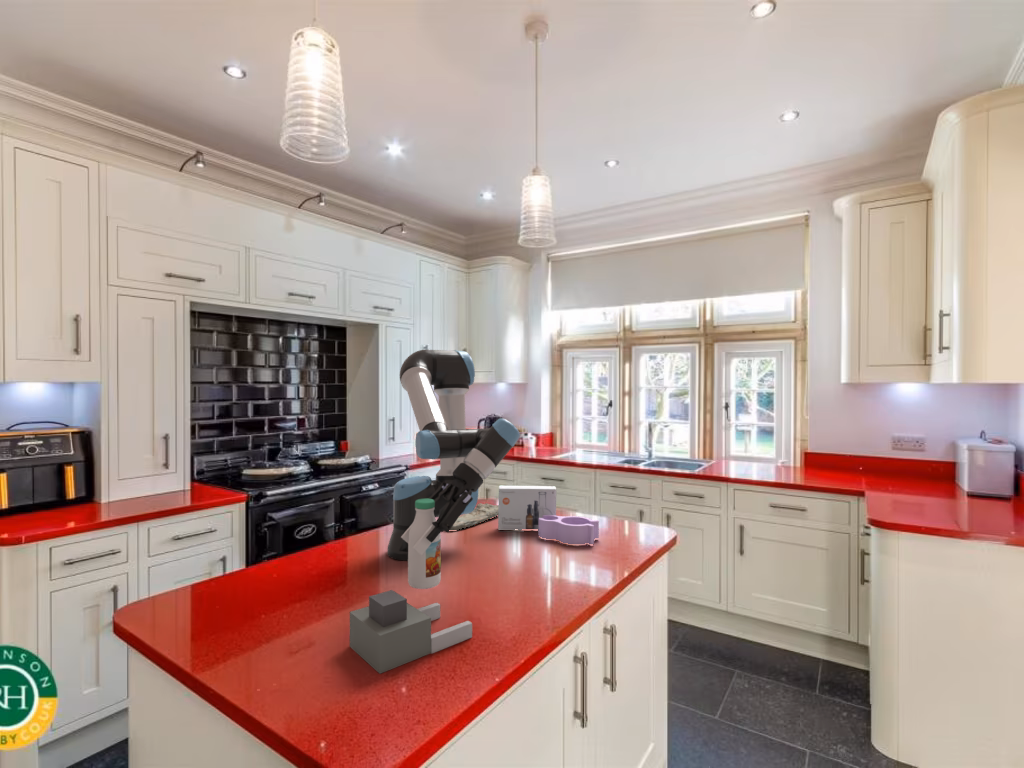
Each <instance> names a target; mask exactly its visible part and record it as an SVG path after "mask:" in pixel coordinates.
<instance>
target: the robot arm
mask: <svg viewBox="0 0 1024 768" xmlns="http://www.w3.org/2000/svg"><path fill="white" fill-rule="evenodd" d="M399 370H400V371H399V380H400V384H401V387H402V388H403V390H404V391H406V392H407V395H408V398H409V402H410V404H411V408H412V411H413V415H414V417H415V420H416V424H417V426H418V430H419V431H418V432H417V434H415V435H416V436H415V452H416V455H417V457H418V458H419V459H421V460H440V465H439V466H440V468H439V470H438V471H437V473H435V480H432V477H430V476H429V475H416V476H410V477H406V478H402V479H400V480H399V481H397V482H396V483H395V484H394V486H393V494H392V499H393V511H392V512H393V517H392V519H393V522H392V523H393V525H392V526H393V528H392V531H391V535H390V538H389V541H388V545H387V556H388V557H389V558H391V559H393V560H398V561H408V541H409V532H410V528H411V526H412V524H413V522H414V519H415V516H416V510H415V508H416V507H415V501H416V500H418V499H424V498H428V499H433V500H434V501H435V506H434V508H435V509H434V516H435V518H437V520H436V522H432V524H433V525H434V526H435V527H434V526H433V525H431V526H430V527H429V528H428V529H427V531H426V532H425V533H424V534H423V535H422V537H421V538H420V539H419V540H418V541H417V543H416V544H415V545H414V546H413V548H414V549H415V550H416V551H418V552H419V553H420V554H421V555H422V554H423V553H424V552H425V551H426V549H427V548H428V547H429V546H430V544H431V543H432V542H433V541H434V540H435V538H436V537H437V536H438V535H439V534H440V535H441V533H443V532H445V533H449V530H450V529H451V527H452V526H453V525H454V523H455V522H456V520H457V519H458V518H459V517H460V516H462V515H465V514H469V513H471V512H472V511H473V510H474V509H475V508H476V506H477V504H478V500H479V489H480V487H482V485H483V483H484V480H487V478H488V477H489V476H490V475H492V473H493V471H494V470H495V468H496V467H498V465H499V464H500V463H501V462H502V461H503V459H504V458H505V457H506V455H507V454H509V452H510V450H511V449H512V448H513V447H515V445H516V443H517V441H519V440H520V437H521V436H520V435H521V434H520V431H519V430H518V429H519V428H517V427H516V426H515V425H514V424H513V423H512V422H510V421H509V420H507V419H506V418H498V419H497V420H496V421H494V423H492V426H491V427H489V428H488V427H487V428H470V429H469V428H468V429H467V428H466V427H467V426H466V403H465V402H466V400H465V399H466V398H465V395H466V394H467V393H468V392H469V391H470V386H471V385H473V384H474V382H475V378H476V377H475V376H476V371H475V365H474V361H473V358H472V357H471V355H470V354H469V352H467V351H464V350H457V349H452V350H451V349H449V350H448V349H419V350H417V351H415V352H413V353H411V354H410V355H409V356H407V357H406V359H405V360H404V361H403V363H402V364H401V366H400V369H399ZM436 395H437V396H438V399H437V396H436ZM447 525H448V526H447Z"/></svg>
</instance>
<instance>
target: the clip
mask: <svg viewBox="0 0 1024 768" xmlns="http://www.w3.org/2000/svg"><path fill="white" fill-rule="evenodd" d="M599 522H600V520H597V519H592V518H589V517H587V516H577V515H568V516H564V515H563V516H561V515H557V514H556V515H542V518H539V523H538V532H537V533H538V535H539V536H540V537H542V538H546V539H556V540H559V541H561V542H563V543H568V544H585V543H589V544H594V543H595V541H594V539H595V538H600V535H599V534H600V532H599V531H600V529H599V528H600V526H599V525H600V523H599ZM594 545H595V544H594Z"/></svg>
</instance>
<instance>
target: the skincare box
mask: <svg viewBox="0 0 1024 768" xmlns="http://www.w3.org/2000/svg"><path fill="white" fill-rule="evenodd" d="M542 515H557V487H556V486H554V485H499V486H498V517H497V519H498V521H497V524H498V525H497V528H498V530H515V529H518V530H522V529H538V523H539V518H542Z"/></svg>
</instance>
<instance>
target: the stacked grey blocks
mask: <svg viewBox="0 0 1024 768" xmlns="http://www.w3.org/2000/svg"><path fill="white" fill-rule="evenodd" d="M407 599H408V598H406V597H404V596H402V595H401V594H399V593H397V592H396V591H395V590H393V589H390V590H387V591H384V592H380V593H376V594H372V595H369V596H368V606H365V607H362V608H358V609H356V610H355V609H354V610H352V611H349V647H350V648H351V650H353V651H354V652H355V653H356V654H357V655H358V656H359V657H360V658H362V659H363V660H364V661H365V662H366V664H367V663H368V664H369V666H371V668H373V669H374V670H375V671H376V672H377V673H378V674H382V673H383V674H384V673H385V672H388V671H390V670H393V669H395V668H398V667H400V666H403V665H404V664H407V663H410V662H413V661H415V660H418V659H419V658H422V657H425V656H428V655H430V654H431V655H432V654H435V653H437V652H439V651H442V650H444V649H447V648H450V647H452V646H454V645H457V644H459V643H462V642H464V641H466V640H469V639H471V638H473V623H472V622H471V621H469V620H466V621H464V622H461V623H458V624H456V625H452V626H450V627H447V628H444V629H442V630H439V631H437V632H433V633H432V622H433V621H435V620H437V619H438V620H439V619H440V618H441V604H440V603H438V602H434V603H431V604H427V605H426V606H422V607H418V608H416V607H415V606H413V605H412V604H411V603H408V600H407Z"/></svg>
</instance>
